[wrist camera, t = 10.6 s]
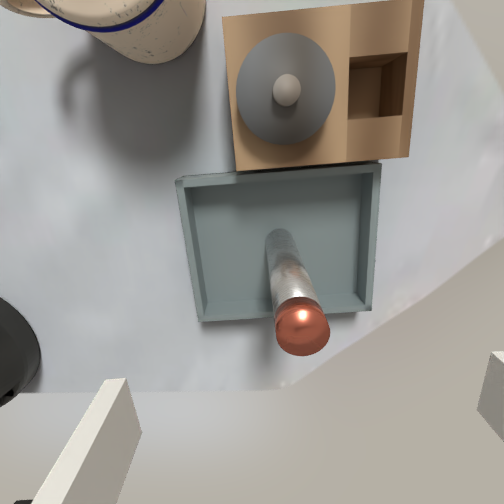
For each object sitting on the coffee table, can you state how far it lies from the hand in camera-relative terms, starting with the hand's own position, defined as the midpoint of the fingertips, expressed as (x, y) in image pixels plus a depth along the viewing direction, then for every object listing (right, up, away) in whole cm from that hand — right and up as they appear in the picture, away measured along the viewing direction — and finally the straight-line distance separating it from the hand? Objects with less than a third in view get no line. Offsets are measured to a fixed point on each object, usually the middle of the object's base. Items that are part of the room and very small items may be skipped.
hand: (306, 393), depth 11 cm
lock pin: (+1, +6, +17) cm, 18 cm away
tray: (0, +6, +17) cm, 18 cm away
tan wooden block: (+3, +17, +13) cm, 22 cm away
